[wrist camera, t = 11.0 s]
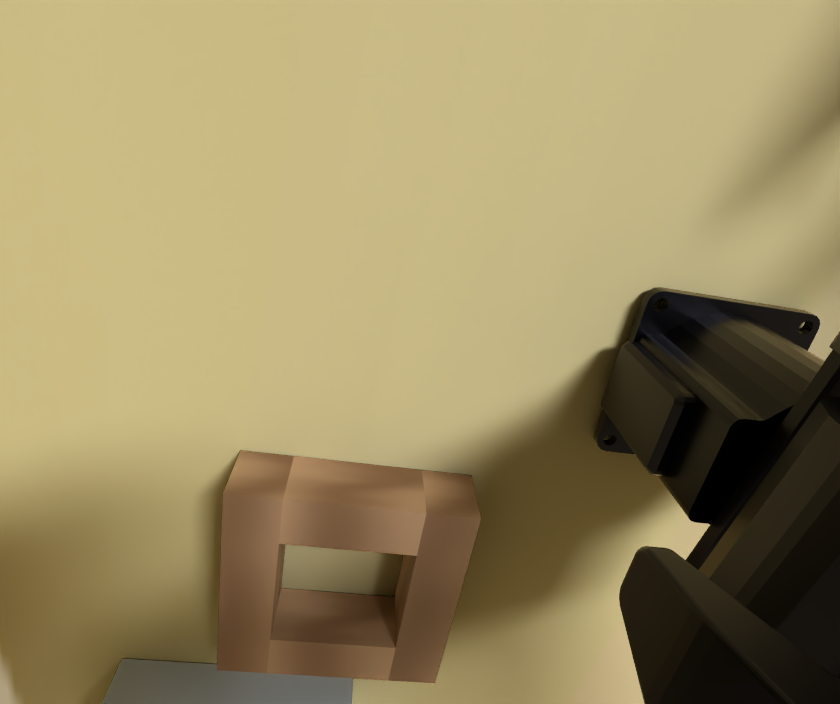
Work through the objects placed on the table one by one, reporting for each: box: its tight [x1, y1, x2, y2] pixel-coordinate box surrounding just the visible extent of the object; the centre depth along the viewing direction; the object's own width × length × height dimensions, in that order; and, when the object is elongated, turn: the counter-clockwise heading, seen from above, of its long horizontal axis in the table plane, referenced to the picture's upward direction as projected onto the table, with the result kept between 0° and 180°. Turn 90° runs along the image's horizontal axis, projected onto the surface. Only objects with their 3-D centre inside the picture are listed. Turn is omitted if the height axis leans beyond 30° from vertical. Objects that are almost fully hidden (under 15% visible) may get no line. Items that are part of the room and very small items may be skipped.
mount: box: [217, 450, 481, 683], centre depth 22 cm, size 9×9×2 cm
